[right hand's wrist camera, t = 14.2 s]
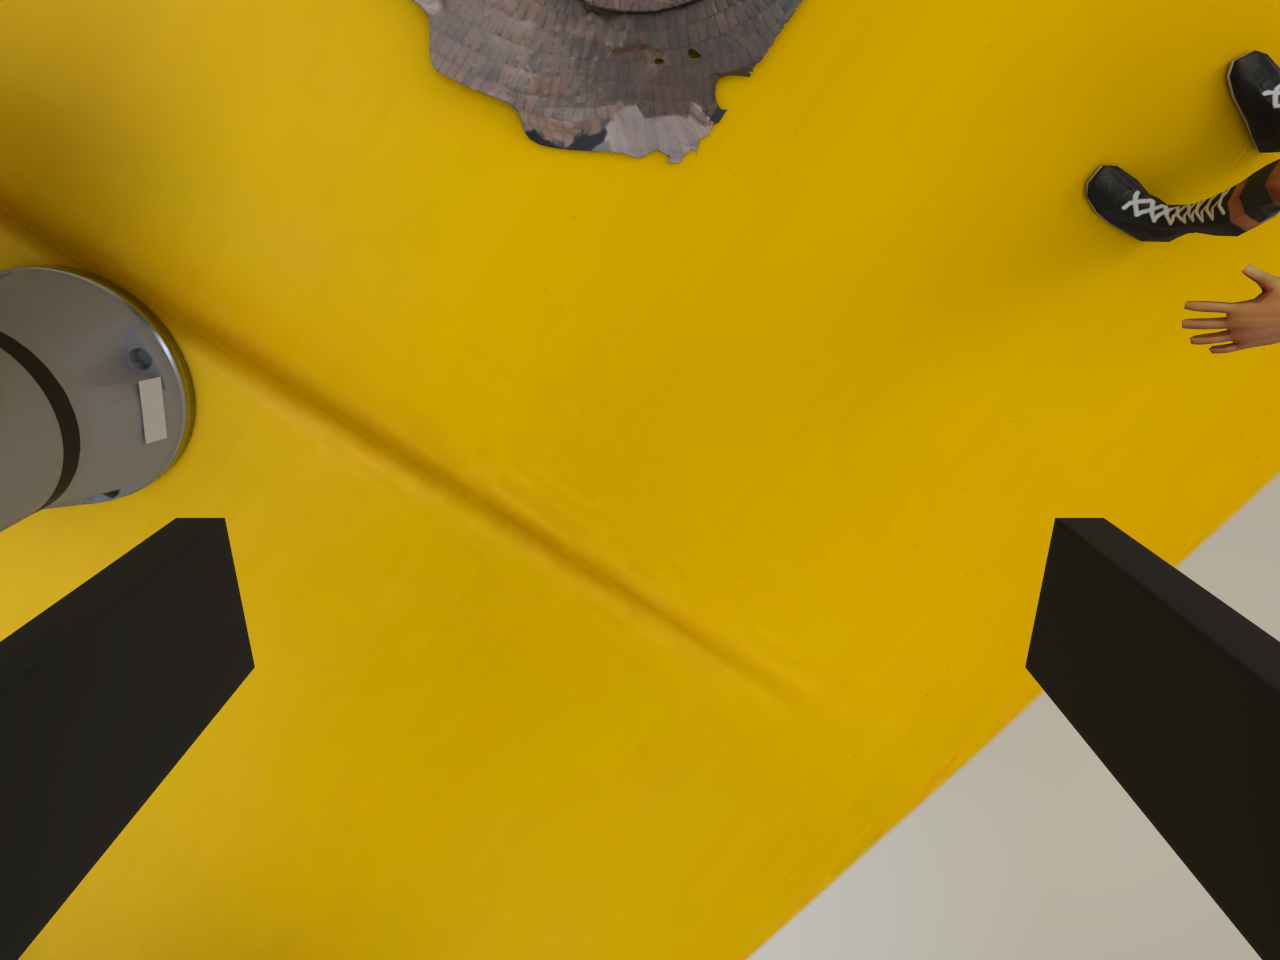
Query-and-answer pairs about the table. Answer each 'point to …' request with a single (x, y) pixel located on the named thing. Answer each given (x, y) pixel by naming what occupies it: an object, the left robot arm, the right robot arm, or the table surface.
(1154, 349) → the table surface
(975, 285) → the table surface
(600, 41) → the sculpture
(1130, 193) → the figurine
